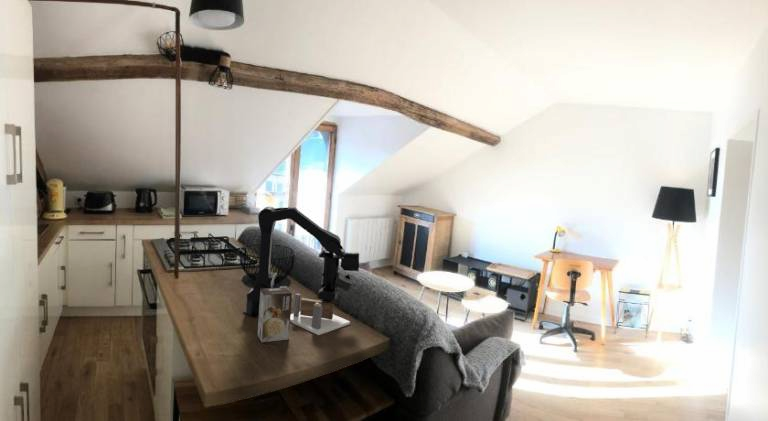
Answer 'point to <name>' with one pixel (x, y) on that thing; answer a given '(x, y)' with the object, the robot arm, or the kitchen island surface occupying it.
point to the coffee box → (274, 314)
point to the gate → (309, 303)
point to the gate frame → (315, 319)
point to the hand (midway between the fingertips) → (327, 309)
